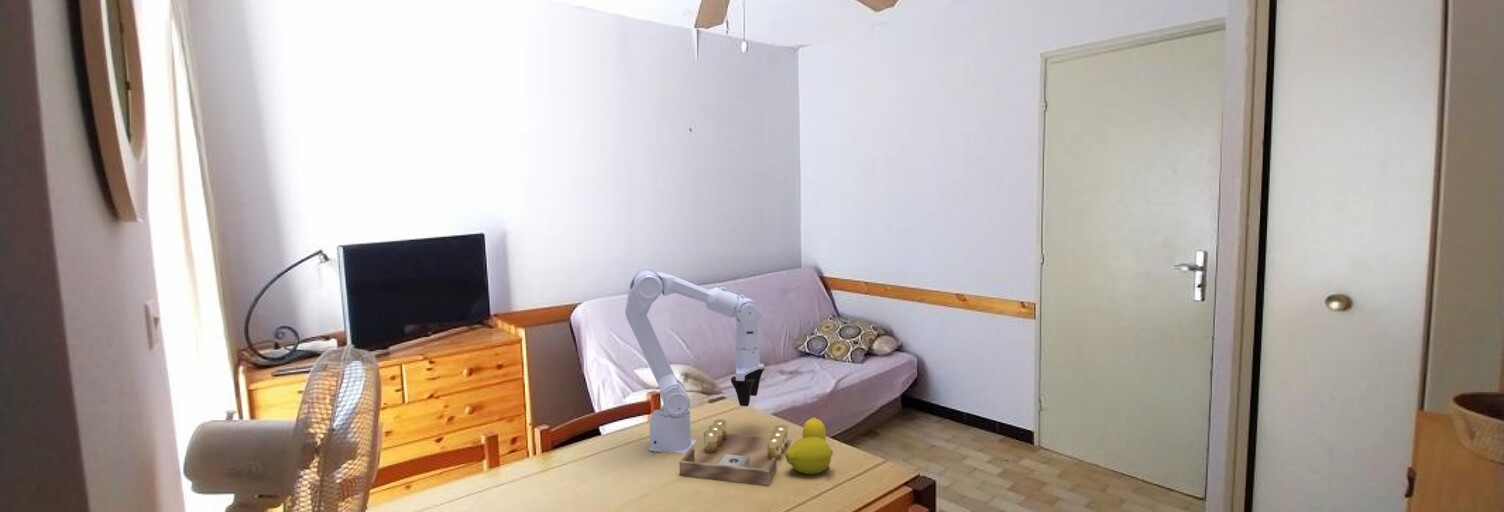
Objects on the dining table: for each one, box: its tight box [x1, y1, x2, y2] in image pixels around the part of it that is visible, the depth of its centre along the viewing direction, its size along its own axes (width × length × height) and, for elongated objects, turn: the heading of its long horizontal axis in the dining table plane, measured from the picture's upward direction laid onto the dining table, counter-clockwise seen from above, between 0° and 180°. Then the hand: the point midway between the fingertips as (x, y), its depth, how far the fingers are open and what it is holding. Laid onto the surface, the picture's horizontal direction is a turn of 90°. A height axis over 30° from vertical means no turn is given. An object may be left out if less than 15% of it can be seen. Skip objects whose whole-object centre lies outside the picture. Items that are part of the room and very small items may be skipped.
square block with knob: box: [718, 454, 750, 468], centre depth 137 cm, size 6×6×2 cm
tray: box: [678, 433, 793, 487], centre depth 145 cm, size 20×24×4 cm
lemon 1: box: [802, 417, 827, 442], centre depth 149 cm, size 6×6×8 cm
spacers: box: [703, 418, 789, 460], centre depth 149 cm, size 19×10×4 cm, turn 75°
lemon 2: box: [784, 437, 833, 475], centre depth 137 cm, size 11×8×8 cm
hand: (748, 400), depth 156 cm, fingers open, 7 cm apart
